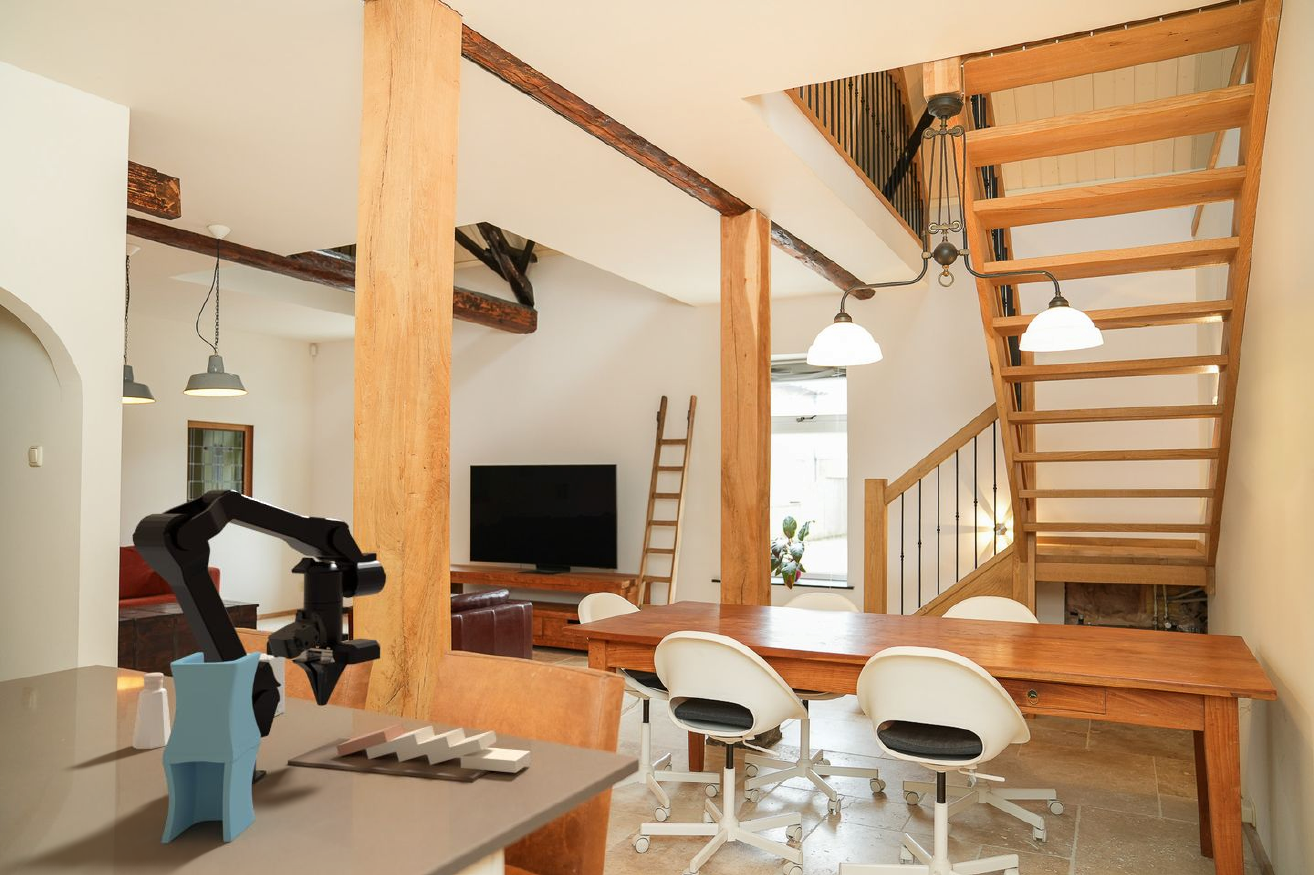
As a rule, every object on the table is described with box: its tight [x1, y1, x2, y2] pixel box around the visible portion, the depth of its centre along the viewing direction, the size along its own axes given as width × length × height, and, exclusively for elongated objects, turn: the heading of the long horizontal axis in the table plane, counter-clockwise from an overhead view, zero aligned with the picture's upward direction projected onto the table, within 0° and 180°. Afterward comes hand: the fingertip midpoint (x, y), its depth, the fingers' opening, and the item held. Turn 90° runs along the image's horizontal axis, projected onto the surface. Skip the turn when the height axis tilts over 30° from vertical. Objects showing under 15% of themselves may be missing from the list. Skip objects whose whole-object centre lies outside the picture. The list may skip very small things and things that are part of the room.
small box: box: [247, 653, 286, 718], centre depth 160 cm, size 8×6×10 cm
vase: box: [160, 651, 262, 844], centre depth 107 cm, size 8×8×20 cm
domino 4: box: [461, 747, 531, 774], centre depth 129 cm, size 2×5×8 cm
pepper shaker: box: [131, 672, 172, 750], centre depth 142 cm, size 5×5×11 cm
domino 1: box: [366, 725, 436, 759], centre depth 133 cm, size 2×5×8 cm
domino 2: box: [396, 727, 466, 762], centre depth 132 cm, size 2×5×8 cm
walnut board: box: [287, 737, 491, 782], centre depth 133 cm, size 30×12×1 cm, turn 73°
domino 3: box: [427, 729, 497, 765], centre depth 130 cm, size 2×5×8 cm
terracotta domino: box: [336, 722, 406, 757], centre depth 135 cm, size 2×5×8 cm
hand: (322, 705), depth 137 cm, fingers closed
